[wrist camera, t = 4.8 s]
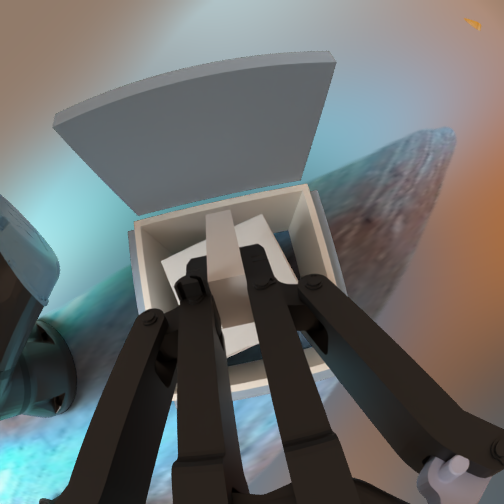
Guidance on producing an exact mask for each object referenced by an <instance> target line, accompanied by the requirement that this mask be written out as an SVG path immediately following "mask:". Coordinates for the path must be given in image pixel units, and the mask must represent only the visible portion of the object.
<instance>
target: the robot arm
mask: <svg viewBox="0 0 504 504" xmlns="http://www.w3.org/2000/svg"><path fill="white" fill-rule="evenodd" d="M206 251H207V255H206V256H201V257H196V258H192V259H190V261H189V262H188V264H187V265H186V275H185V276H183V277H181V278H180V279H178V280H177V282H176V283H175V285H174V288H175V291H176V293H177V296H178V298H179V301H180V305H179V306H178V307H176V308H175V309H173V310H171V311H168V312H166V313H163V311H162V310H160V309H157V308H152V309H148V310H146V311H144V312H142V313H141V314H140V315H139V316H138V317H137V319H136V320H135V322H134V325H133V327H132V329H131V331H130V333H129V335H128V337H127V339H126V341H125V343H124V346H123V348H122V350H121V352H120V354H119V356H118V359H117V361H116V363H115V365H114V367H113V370H112V372H111V374H110V376H109V379H108V381H107V383H106V386H105V388H104V390H103V393H102V395H101V398H100V400H99V402H98V405H97V407H96V410H95V412H94V415H93V417H92V420H91V422H90V425H89V427H88V430H87V433H86V435H85V438H84V441H83V443H82V446H81V449H80V452H79V454H78V457H77V460H76V463H75V466H74V469H73V472H72V475H71V478H70V481H69V484H68V486H67V487H66V488H65V490H64V491H63V492H62V493H61V495H60V496H59V497H58V499H57V500H56V501H55V503H54V504H145V503H146V499H147V495H148V490H149V486H150V482H151V478H152V474H153V470H154V466H155V462H156V458H157V454H158V450H159V446H160V443H161V439H162V435H163V431H164V428H165V424H166V420H167V416H168V413H169V409H170V406H171V402H172V398H173V395H174V391H175V388H176V384H177V435H178V458H177V460H176V461H175V462H174V463H173V465H172V473H171V476H172V494H173V504H410V503H407V502H405V501H403V500H401V499H399V498H397V497H395V496H393V495H391V494H389V493H386V492H385V491H383V490H381V489H379V488H377V487H375V486H373V485H371V484H369V483H367V482H365V481H363V480H360V479H356V478H352V476H351V473H350V470H349V467H348V464H347V461H346V458H345V456H344V452H343V449H342V447H341V444H340V441H339V439H338V437H337V435H336V434H335V433H334V432H333V431H332V429H331V427H330V424H329V421H328V419H327V415H326V413H325V410H324V407H323V404H322V401H321V398H320V395H319V393H318V390H317V387H316V384H315V381H314V378H313V376H312V373H311V370H310V367H309V364H308V361H307V359H306V356H305V353H304V350H303V347H302V345H301V342H300V339H299V336H298V334H297V331H301V332H302V334H303V335H304V336H305V338H306V339H307V340H308V342H309V343H310V344H311V345H312V347H313V348H314V349H315V351H316V352H317V353H318V354H319V356H320V357H321V358H322V360H323V361H324V362H325V363H326V365H327V366H328V367H329V368H330V370H331V371H332V372H333V374H334V375H335V376H336V377H337V379H338V380H339V381H340V383H341V384H342V385H343V386H344V387H345V389H346V390H347V391H348V393H349V394H350V395H351V396H352V397H353V399H354V400H355V401H356V403H357V404H358V405H359V407H360V408H361V409H362V410H363V412H364V413H365V414H366V415H367V417H368V418H369V419H370V421H371V422H372V423H373V424H374V426H375V427H376V428H377V429H378V430H379V432H380V433H381V434H382V436H383V437H384V438H385V439H386V440H387V442H388V443H389V444H390V445H391V447H392V448H393V449H394V451H395V452H396V453H397V454H398V455H399V457H400V458H401V459H402V460H403V461H404V462H405V463H406V464H407V465H408V466H410V467H411V468H412V469H413V470H414V471H416V472H417V473H419V476H418V479H417V488H418V490H419V492H420V493H421V494H422V495H423V496H424V497H425V498H426V500H427V502H428V504H478V502H479V500H480V498H481V496H482V494H483V492H484V490H485V489H486V487H487V485H488V483H489V481H490V479H491V477H492V476H493V475H495V474H496V473H498V472H500V471H501V470H503V469H504V429H502V428H500V427H497V426H495V425H493V424H491V423H489V422H487V421H485V420H483V419H480V418H478V417H476V416H474V415H472V414H470V413H468V412H466V411H464V410H462V409H461V408H460V407H459V406H458V404H457V403H456V402H455V401H454V400H453V399H452V398H451V397H450V396H449V395H448V394H447V393H446V392H445V391H444V390H443V389H442V388H441V387H440V386H439V385H438V384H437V383H436V382H435V381H434V380H433V379H432V378H431V377H430V376H429V375H428V374H427V373H426V372H425V371H424V370H423V369H422V368H421V367H420V366H419V365H418V364H417V363H416V362H415V361H414V360H413V359H412V358H411V357H410V356H409V355H408V354H407V353H406V352H405V351H404V350H403V349H402V348H401V347H400V346H399V345H398V344H397V343H396V342H395V341H394V340H393V339H392V338H391V337H390V336H389V335H388V334H387V333H386V332H384V330H382V329H381V328H380V327H379V326H378V325H377V324H376V323H375V322H374V321H373V320H372V319H371V318H370V317H369V316H368V315H367V314H366V313H365V312H364V311H363V310H362V309H360V308H359V307H358V306H357V305H356V304H355V303H354V302H353V301H352V300H351V299H350V298H349V297H348V296H347V295H346V294H344V293H343V292H342V291H341V290H340V289H339V288H338V287H337V286H336V285H335V284H334V283H333V282H332V281H330V280H329V279H328V278H327V277H325V276H324V275H321V274H309V275H305V276H304V277H302V278H301V279H300V280H299V281H298V284H286V283H282V282H280V281H278V280H277V279H276V277H275V276H274V274H273V271H272V269H271V266H270V263H269V260H268V258H267V255H266V252H265V249H264V247H262V246H261V245H259V244H253V245H248V246H244V247H239V245H238V241H237V237H236V232H235V228H234V223H233V219H232V214H231V209H230V210H225V211H221V212H216V213H212V214H207V215H206ZM59 274H60V265H59V261H58V258H57V256H56V255H55V253H54V251H53V250H52V248H51V247H50V246H49V244H48V243H47V242H46V241H45V239H44V238H43V237H42V236H41V235H40V234H39V232H38V231H37V230H36V229H35V228H34V227H33V226H32V225H31V224H30V222H29V221H28V220H26V218H25V217H24V216H23V215H22V214H21V213H20V212H19V211H18V210H17V209H16V208H15V207H14V206H13V205H12V204H11V203H10V202H9V201H8V200H6V199H5V198H4V197H3V196H2V195H0V420H4V419H7V418H10V417H14V416H17V415H20V414H23V415H29V416H36V417H44V418H47V417H53V416H56V415H58V414H61V413H63V412H65V411H66V410H67V409H68V408H69V407H70V405H71V404H72V402H73V399H74V396H75V392H76V371H75V366H74V362H73V358H72V356H71V353H70V351H69V348H68V346H67V344H66V343H65V341H64V339H63V338H62V337H61V335H60V334H59V333H58V332H57V331H56V330H55V329H54V328H53V327H52V326H51V325H49V324H47V323H45V322H43V321H40V320H37V319H38V317H39V315H40V313H41V311H42V309H43V307H44V306H47V304H48V298H49V296H50V294H51V292H52V290H53V288H54V286H55V284H56V282H57V280H58V278H59ZM253 322H254V323H255V327H256V332H257V336H258V340H259V345H260V349H261V354H262V358H263V363H264V367H265V371H266V376H267V380H268V384H269V389H270V393H271V397H272V402H273V406H274V410H275V415H276V419H277V423H278V427H279V431H280V436H281V440H282V444H283V448H284V452H285V457H286V461H287V465H288V469H289V473H290V477H291V481H292V483H290V484H288V485H286V486H283V487H281V488H279V489H277V490H274V491H272V492H270V493H267V494H264V495H255V494H250V493H249V489H248V485H247V482H246V479H245V476H244V472H243V466H242V460H241V454H240V448H239V442H238V435H237V429H236V422H235V415H234V408H233V401H232V394H231V387H230V379H229V372H228V364H227V356H226V348H225V340H224V335H223V332H222V328H223V329H224V328H229V327H234V326H239V325H244V324H248V323H253ZM221 325H222V328H221Z"/></svg>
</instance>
